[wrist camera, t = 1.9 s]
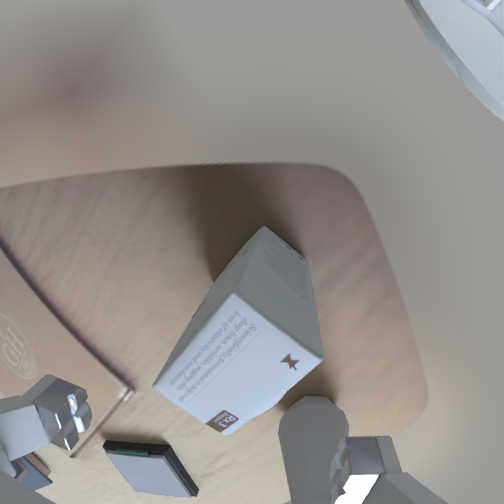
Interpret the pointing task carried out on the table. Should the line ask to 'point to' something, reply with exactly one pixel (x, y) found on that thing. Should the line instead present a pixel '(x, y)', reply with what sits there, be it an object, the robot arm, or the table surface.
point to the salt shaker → (311, 447)
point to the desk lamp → (31, 472)
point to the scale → (151, 468)
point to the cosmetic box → (246, 337)
